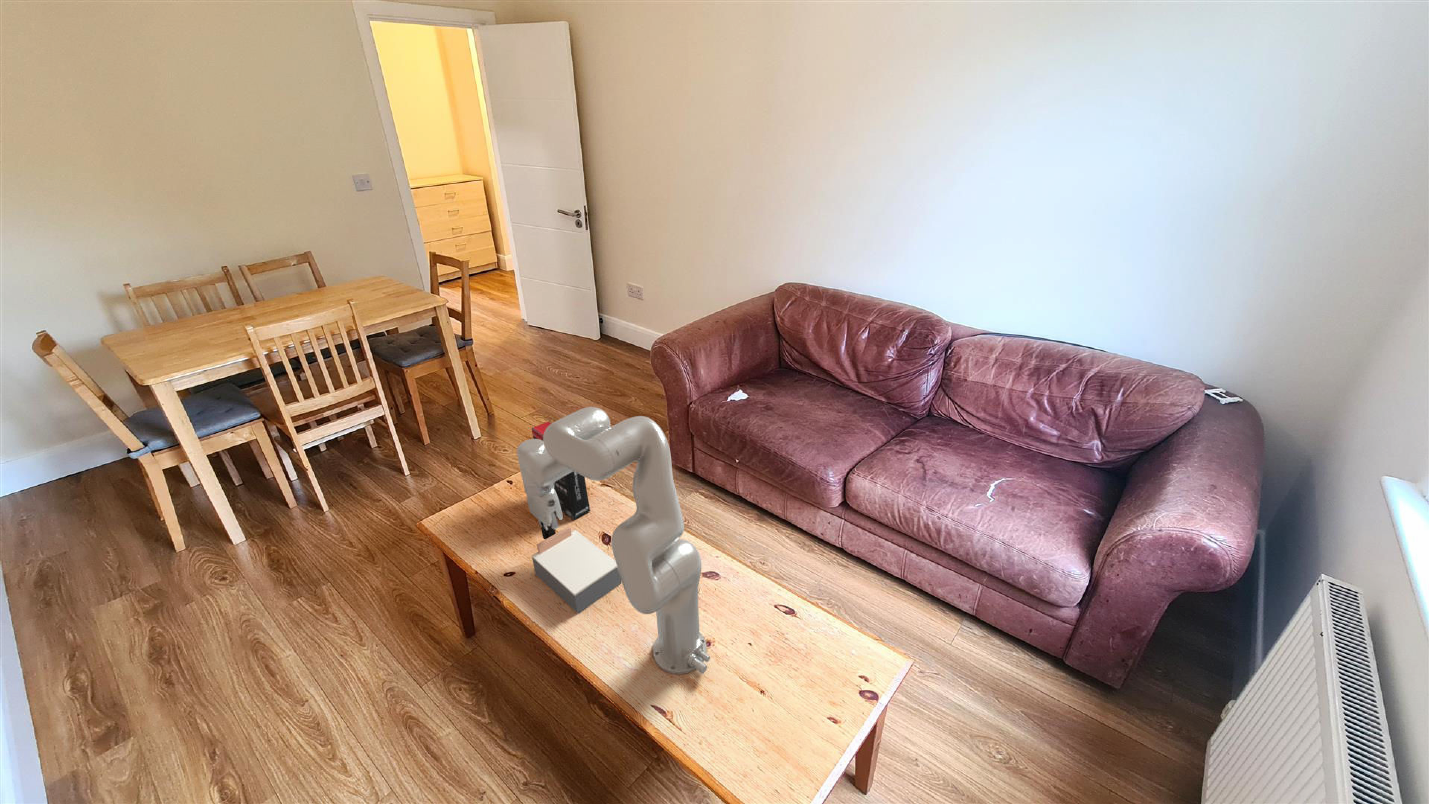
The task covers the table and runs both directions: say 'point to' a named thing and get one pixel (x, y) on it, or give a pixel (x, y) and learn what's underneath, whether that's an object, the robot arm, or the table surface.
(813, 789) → the table surface
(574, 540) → the lid
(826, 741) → the table surface
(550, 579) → the box
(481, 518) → the table surface
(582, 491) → the graphics card box
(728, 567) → the table surface
